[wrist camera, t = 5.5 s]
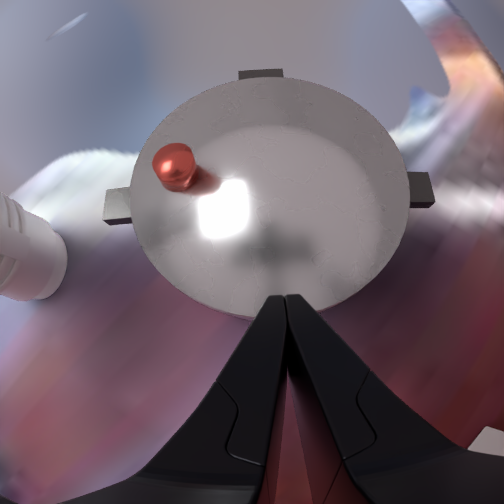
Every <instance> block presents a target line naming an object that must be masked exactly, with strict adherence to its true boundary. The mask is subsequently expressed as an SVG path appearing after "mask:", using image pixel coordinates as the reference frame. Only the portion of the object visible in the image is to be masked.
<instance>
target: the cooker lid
mask: <svg viewBox="0 0 504 504" xmlns="http://www.w3.org/2000/svg"><path fill="white" fill-rule="evenodd" d="M129 198H130V213H131V218H132V223H133V227H134V230H135V233H136V235H137V238H138V241H139V243H140V245H141V247H142V249H143V250H144V252H145V254H146V255H147V257H148V259H149V260H150V261H151V263H152V264H153V265H154V266H155V267H156V269H157V270H158V271H159V272H160V274H162V275H163V276H164V277H165V278H166V279H167V280H168V281H169V282H170V283H172V284H173V285H174V286H175V287H176V288H177V289H178V290H180V291H181V292H182V293H184V294H185V295H187V296H188V297H190V298H191V299H193V300H194V301H196V302H197V303H200V304H202V305H204V306H206V307H208V308H210V309H213V310H215V311H217V312H221V313H224V314H227V315H231V316H234V317H239V318H245V319H252V320H253V319H254V318H255V316H256V314H257V313H258V311H259V309H260V308H261V306H262V304H263V303H264V301H265V300H266V298H267V296H269V295H283V296H285V295H286V294H300V295H302V296H303V298H304V299H305V300H306V301H307V302H308V303H309V304H310V305H311V306H312V307H313V308H314V309H315V310H316V311H317V312H318V313H320V312H322V311H325V310H327V309H329V308H332V307H334V306H336V305H338V304H340V303H342V302H344V301H345V300H347V299H348V298H350V297H352V296H353V295H355V294H356V293H358V292H359V291H360V290H361V289H362V288H363V287H365V286H366V285H367V284H368V283H369V282H370V281H372V280H373V279H374V278H375V277H376V276H377V275H378V274H379V272H380V271H381V270H382V269H383V268H384V267H385V265H386V264H387V263H388V262H389V261H390V259H391V257H392V256H393V254H394V252H395V251H396V249H397V247H398V246H399V244H400V241H401V239H402V236H403V234H404V231H405V228H406V224H407V220H408V215H409V207H410V189H409V180H408V176H407V171H406V167H405V164H404V162H403V159H402V157H401V154H400V152H399V150H398V148H397V146H396V145H395V143H394V141H393V139H392V138H391V136H390V135H389V134H388V132H387V131H386V130H385V128H384V127H383V126H382V125H381V124H380V123H379V122H378V121H377V119H376V118H375V117H374V116H373V115H371V114H370V113H369V112H368V111H367V110H365V109H364V108H363V107H362V106H360V105H359V104H357V103H356V102H354V101H353V100H351V99H350V98H348V97H346V96H344V95H343V94H341V93H339V92H337V91H335V90H332V89H330V88H327V87H324V86H322V85H319V84H315V83H312V82H308V81H304V80H298V79H293V78H282V77H258V78H248V79H242V80H237V81H233V82H229V83H225V84H222V85H219V86H216V87H214V88H211V89H209V90H206V91H204V92H202V93H200V94H198V95H196V96H194V97H193V98H191V99H189V100H188V101H186V102H185V103H183V104H182V105H180V106H179V107H178V108H176V109H175V110H174V111H173V112H171V113H170V114H169V115H168V116H167V117H166V118H165V119H164V120H163V121H162V122H161V123H160V124H159V125H158V126H157V127H156V129H155V130H154V131H153V133H152V134H151V135H150V137H149V138H148V139H147V141H146V143H145V145H144V146H143V148H142V150H141V152H140V154H139V156H138V159H137V161H136V164H135V166H134V170H133V174H132V179H131V185H130V195H129Z"/></svg>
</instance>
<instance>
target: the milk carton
mask: <svg viewBox="0 0 504 504" xmlns="http://www.w3.org/2000/svg"><path fill="white" fill-rule="evenodd" d="M468 450H471V451H475V452H481V453H486V454H493V455H499V456H504V432H503V431H500V430H497V429H494V428H491V427H488V426H486V427H485V428H484V429H483V430H482V431H481V433H480V434H479V435H478V436H477V438H476V439H475V440H474V441H473V443H472V444H471V445H470V446H469V448H468Z"/></svg>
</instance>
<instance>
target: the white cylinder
mask: <svg viewBox="0 0 504 504" xmlns="http://www.w3.org/2000/svg"><path fill="white" fill-rule="evenodd" d="M67 259H68V257H67V249H66V246H65V243H64V240H63V239H62V238H61V236H60V235H59V234H58V233H56V232H55V231H53V229H52V228H51V226H50V225H49V223H48V222H47V221H45V220H44V219H43V218H41V217H39V216H36V215H34V214H32V213H30V212H27V211H25V210H24V209H23V207H22V206H21V205H20V204H19V203H18V202H16V201H15V200H13V199H10V198H9V197H8V196H6V195H5V194H4V193H1V192H0V295H3V296H6V297H9V298H11V299H14V300H17V301H28V300H31V299H39V300H42V299H45V298H48V297H49V296H50V295H52V294H53V293H54V292H55V291H56V290H57V289H58V287H59V286H60V284H61V282H62V280H63V278H64V276H65V272H66V268H67Z"/></svg>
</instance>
